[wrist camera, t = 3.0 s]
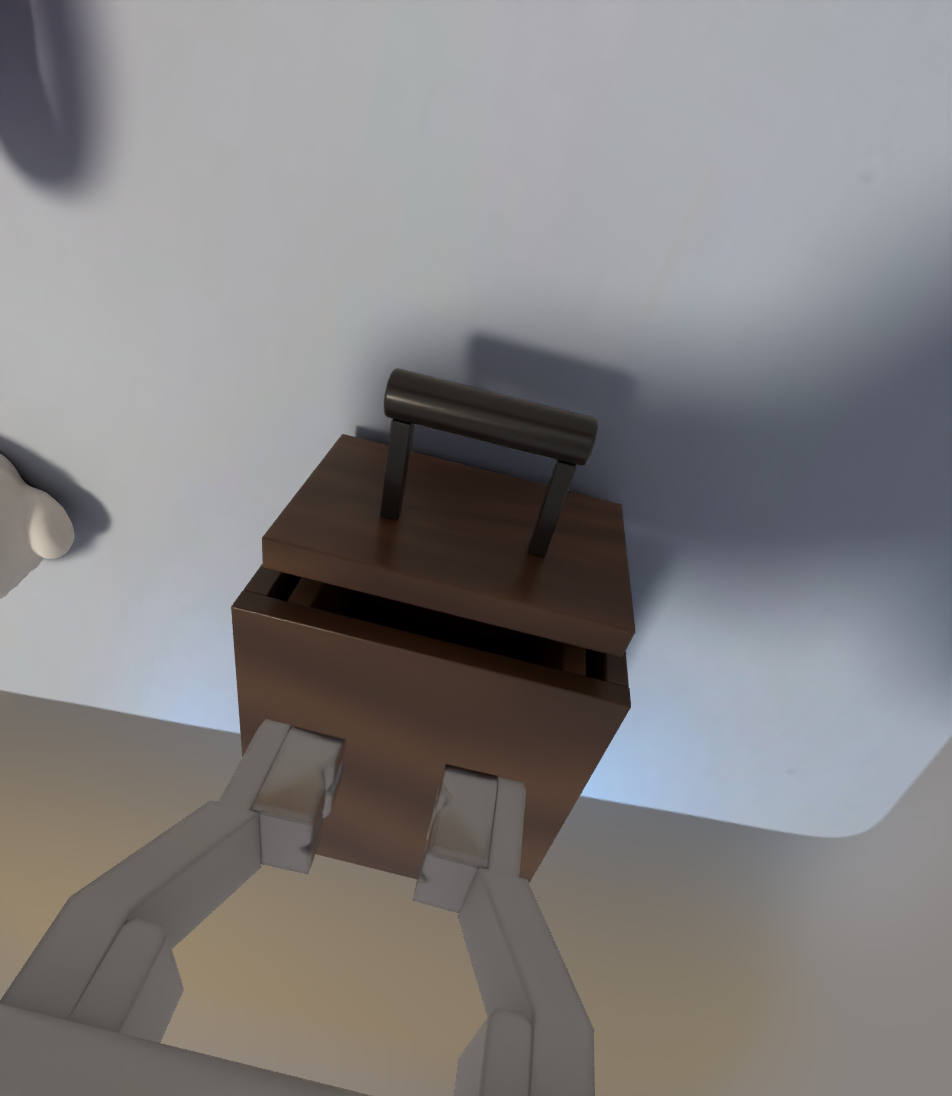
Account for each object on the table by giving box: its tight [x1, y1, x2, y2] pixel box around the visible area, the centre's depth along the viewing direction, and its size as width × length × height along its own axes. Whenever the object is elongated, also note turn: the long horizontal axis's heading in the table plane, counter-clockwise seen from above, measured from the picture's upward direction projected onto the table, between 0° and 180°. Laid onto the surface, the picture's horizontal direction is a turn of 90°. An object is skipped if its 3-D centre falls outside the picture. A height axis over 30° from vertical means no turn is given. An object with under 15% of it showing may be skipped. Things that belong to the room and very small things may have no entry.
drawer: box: [262, 368, 635, 676], centre depth 23 cm, size 18×11×7 cm, turn 168°
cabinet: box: [231, 564, 631, 883], centre depth 26 cm, size 15×13×9 cm
